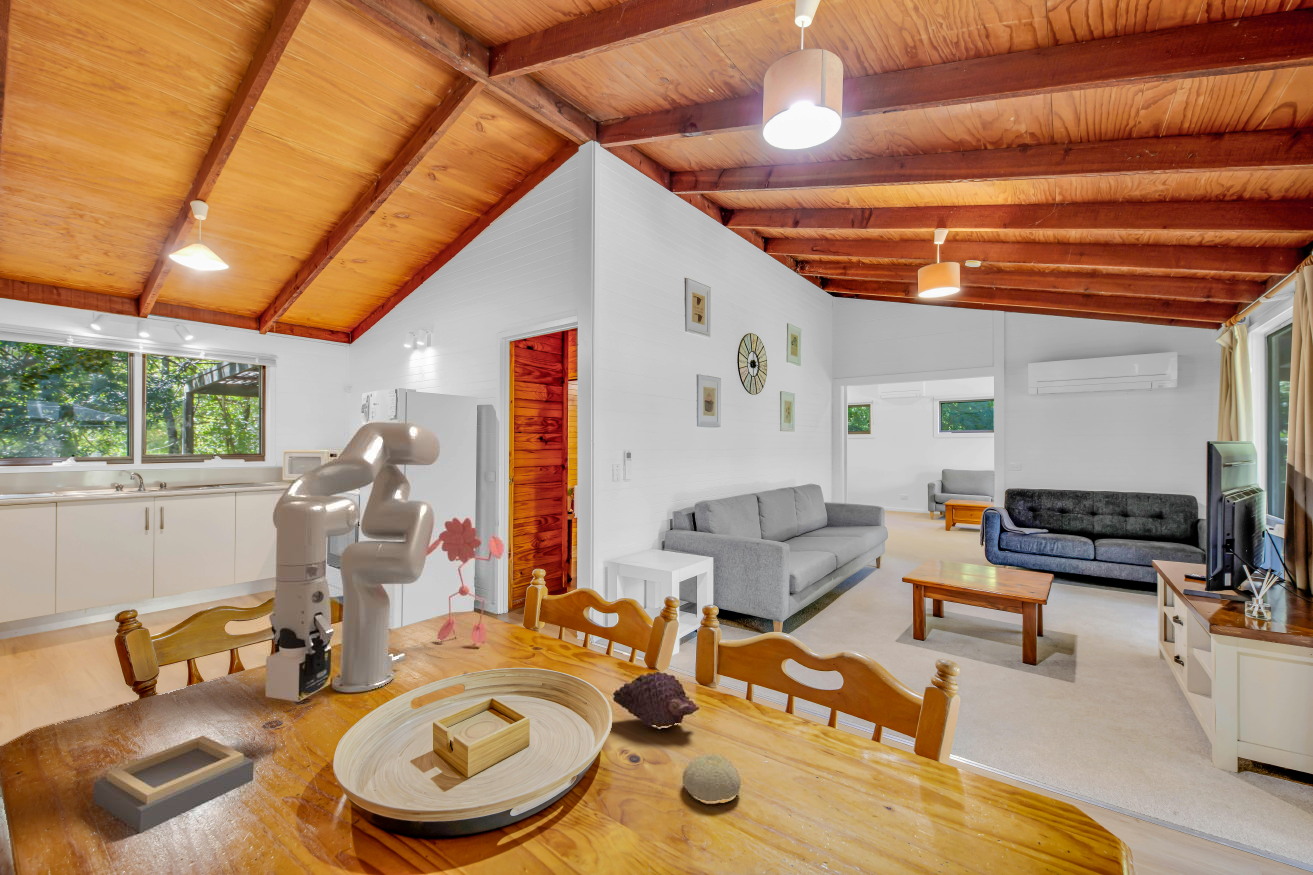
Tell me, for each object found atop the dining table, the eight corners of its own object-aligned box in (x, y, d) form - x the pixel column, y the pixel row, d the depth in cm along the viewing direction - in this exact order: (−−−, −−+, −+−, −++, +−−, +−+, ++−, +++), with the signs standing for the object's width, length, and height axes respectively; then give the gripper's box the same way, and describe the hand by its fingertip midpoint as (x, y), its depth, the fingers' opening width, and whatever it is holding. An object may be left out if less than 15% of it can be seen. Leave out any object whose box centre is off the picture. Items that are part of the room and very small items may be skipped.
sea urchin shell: (746, 766, 91) (740, 748, 86) (739, 821, 86) (733, 806, 81) (693, 755, 94) (684, 737, 89) (683, 808, 89) (673, 792, 84)
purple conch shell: (604, 729, 106) (606, 676, 107) (622, 707, 116) (623, 659, 116) (694, 744, 101) (696, 689, 102) (705, 720, 111) (706, 670, 111)
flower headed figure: (433, 633, 159) (436, 512, 160) (512, 644, 152) (515, 517, 152) (393, 652, 145) (397, 518, 145) (479, 665, 137) (482, 524, 138)
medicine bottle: (299, 702, 95) (300, 633, 95) (264, 697, 96) (265, 628, 96) (331, 683, 102) (332, 619, 102) (298, 679, 103) (299, 615, 103)
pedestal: (205, 756, 93) (206, 731, 94) (253, 779, 87) (254, 752, 87) (93, 802, 81) (94, 772, 81) (139, 832, 75) (141, 801, 75)
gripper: (352, 573, 98) (350, 670, 99) (293, 560, 106) (291, 651, 106) (310, 583, 92) (308, 687, 92) (250, 569, 99) (248, 665, 100)
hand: (299, 667), depth 99 cm, fingers closed on medicine bottle, 8 cm apart
